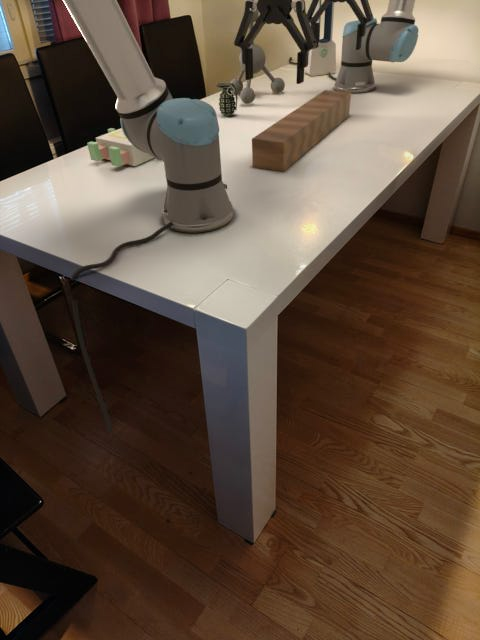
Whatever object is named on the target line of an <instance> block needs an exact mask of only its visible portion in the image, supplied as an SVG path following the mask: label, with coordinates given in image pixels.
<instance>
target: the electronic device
mask: <svg viewBox="0 0 480 640" xmlns="http://www.w3.org/2000/svg"><path fill="white" fill-rule="evenodd" d="M321 5H322V0H319V2H318V4H317V7H316V9H315V11H314V14H313V16H314V15H315V13H316V12H317V11H318V9H319V8H320V6H321ZM334 12H335V2H334V3H333V2H331V3H330V4H329V5H328V7H327V8H326V9H325V11H324V18H323V19H324V20H323V21H324V22H323V38H321V37H320V36H321V18H322V17H321V16H322V15H321V16H320V18H319V19H318V20H317V22H316V23H319V44H318V47H317V48H315V49H311V50H310V51H309V55H308V66H307V67H305V68H304V73H306V74H307V75H308V76H310V77H315V76H323V75H329V72H330V75H332V74H334V73H335V72H336V71H337V48H336V47H337V44H336V42H335V41H334V40H333V31H334V29H333V28H334V14H335V13H334ZM313 16H312V17H313ZM320 38H321V39H320Z"/></svg>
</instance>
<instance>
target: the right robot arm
mask: <svg viewBox="0 0 480 640" xmlns="http://www.w3.org/2000/svg"><path fill="white" fill-rule="evenodd" d="M359 1H360V3H361V7H362V9H361V8H360V6H359V4H358V2H357V1H356V0H323V2H322V3H321V6H320V8H319V9H318V11H317V12H316V13H315V15H314V16H313V14H314V11H315V9H316V7H317V4H318V2H319V0H311V3H310V5H309V8H308V10H307V11H306V14H307V17H308V20H309V22H310V25H311V28H312V31H313V34H314V37H315V39H316V42H317V47H318V44H319V23H316V22H317V20H318V19H319V18H320V16H323V14H324V13H325V9H326V8H327V7H328V5H329V4H330V3H331V2H333V3H334V4H335V3H338V2H339V3H345V2H346V3H347V4H348V6H349V7H350V8H351V10H352V12H353V13H354V15H355V16H356V18H357V20H352V21H349V22H346V23H345V24H344V26H343V31H342V37H341V38H342V42H341V56H340V58H341V59H340V68H339V71H338V74H337V76H336V77H334V76H333V75H332V74H330V72H329V74H328V77H329V78H331V79H332V80H335V82H334V91H344V92H351V94H360V93H367V92H371V91H373V90H374V89H375V86H376V81H375V77H374V71H373V61H377V62H390V63H392V64H393V63H403V62H406V61H407V60H408V59H409V58H410V57H411V56H412V54H413V52H414V51H415V48H416V45H417V42H418V40H419V27H418V26H417V25H416V24H415V23H416V18H415V16H414V14H413V13H414V8H415V3H416V0H389V1H388V5H387V11H386V12H385V13H384V14H383V15H382V16H381V18H380V22H379V23H378V19H377V18H376V17H374V15H373V12H372V9H371V8H372V7H371V5H370V3H369V0H359ZM312 16H313V17H312ZM317 47H316V48H317ZM314 49H315V48H314ZM292 60H293V57H292V56H289V59H288V62H289V63H290V64H292V65H297V62H294V61H292Z"/></svg>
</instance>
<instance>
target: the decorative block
mask: <svg viewBox="0 0 480 640" xmlns="http://www.w3.org/2000/svg"><path fill="white" fill-rule="evenodd" d="M86 145H87V149H88V153H89V157H90V160H91V161H93V162H94V161H95V162H100V161H103V160H107V161H110V164H111V166H114V167H119V168H120V167H122V166H124V165H127V166H132V167H137V166H139V165H141V164H145V163H146V162H148V161H150V160H153V159H155V158H156V157H154V156H152V155H150V154H148V153H145V152H143V151H141V150H139V149H137V148H136V147H135V146H133V145H132V144H131V143H130V142H129V141H128V139H127V138H126V137H125V135H124V133H123V131H122V128H121V127H120V128H118V129H116V128H113V127H110V128H108V129H107V133H104V134H101V135H99V136H97V137H95V141H89V142H87V143H86Z"/></svg>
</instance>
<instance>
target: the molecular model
mask: <svg viewBox="0 0 480 640" xmlns="http://www.w3.org/2000/svg"><path fill="white" fill-rule="evenodd" d="M244 13H245V8H244V9H243V11H242V17H243V16H244ZM259 15H260V13H259V11H258V9H257V8H256V11H255V12H254V14H253V17H252V20H251V22H250V25H249V28H248V33H249V32H250V30H251V29H252V27H253V26H254V24H255V23H256V20H257V18H258V17H259ZM254 41H255V40H254ZM254 41H253V42H252V44H251V45H250V46H251V47H249V48H253V75H256V74H258V73H260V72H261V71H263V73H264V74H265V75H266V76H267V77H268V79H269V80H270V81H271V82H270V89H271V91H272V92H273V93H274V94H281V93H282V92H283V91H284V90H285V87H286V83H285V81H284V80H283V78H281V77H274V76H273V74H272V73H271V72H270V70H269V69H268V68H267V67H266V65H265V64H266V60H267V59H266V58H267V57H266V53H265V51H264V49H263V48H262V47H261V46H260V45H258V44H256V43H254ZM238 62H239V66H240V68H241V69H240V72H239V74H238V76H237V77H235V78H232V79H231V80H230V81H229V83H233V84H234V85H235V87H236V90H237V95H238V94H239V93H240V94H239V98H240V100H241V102H242V103H244V104H246V105H249V104H251V103H253V102H254V101H255V98H256V92H255V90H254V89H253V87H251V84H252V79H249V80H246V83H245V84H246V85H245V87H244V83H243V81H242V78H243V76H244V74H245V64H243V63H242V50H241V51H240V52H239V56H238ZM233 92H234V94H235V91H234V90H232V91H231V93H233Z"/></svg>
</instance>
